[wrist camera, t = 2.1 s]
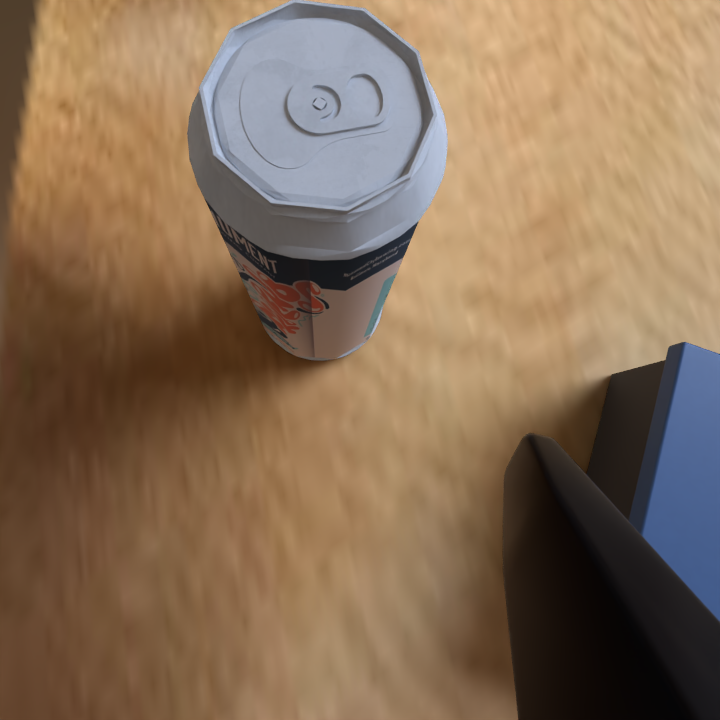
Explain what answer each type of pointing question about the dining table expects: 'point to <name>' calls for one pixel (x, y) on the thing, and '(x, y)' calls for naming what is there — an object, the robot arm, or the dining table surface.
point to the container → (667, 461)
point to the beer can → (317, 166)
